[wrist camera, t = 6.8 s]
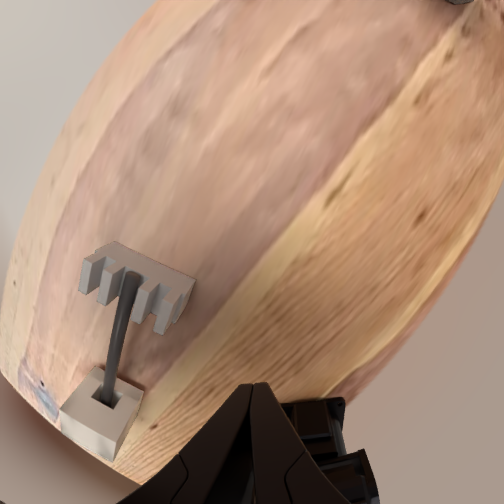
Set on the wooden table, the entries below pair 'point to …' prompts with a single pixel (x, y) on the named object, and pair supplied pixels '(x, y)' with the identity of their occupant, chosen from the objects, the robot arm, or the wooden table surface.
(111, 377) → the cord rig
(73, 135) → the wooden table surface
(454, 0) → the coffeepot
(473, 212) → the wooden table surface
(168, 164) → the wooden table surface
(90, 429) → the sleeve
